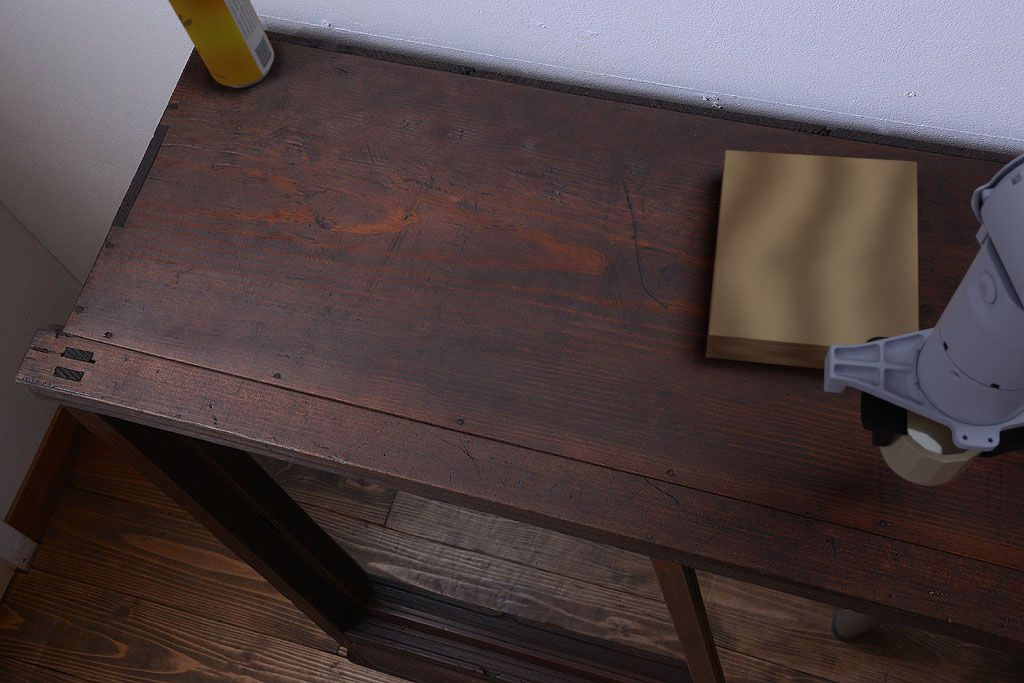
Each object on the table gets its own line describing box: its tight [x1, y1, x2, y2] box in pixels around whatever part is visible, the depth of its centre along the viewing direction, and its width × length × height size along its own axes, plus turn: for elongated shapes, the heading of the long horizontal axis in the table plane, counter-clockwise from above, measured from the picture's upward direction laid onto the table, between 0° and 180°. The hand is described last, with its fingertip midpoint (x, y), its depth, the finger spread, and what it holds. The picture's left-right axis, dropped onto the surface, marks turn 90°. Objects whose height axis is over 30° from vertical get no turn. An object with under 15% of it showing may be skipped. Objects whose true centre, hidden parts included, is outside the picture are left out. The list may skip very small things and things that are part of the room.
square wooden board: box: [705, 149, 920, 370], centre depth 72 cm, size 14×16×4 cm
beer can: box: [167, 0, 275, 89], centre depth 83 cm, size 6×6×15 cm
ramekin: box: [879, 409, 982, 487], centre depth 58 cm, size 5×5×4 cm
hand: (928, 436), depth 59 cm, fingers closed on ramekin, 5 cm apart
